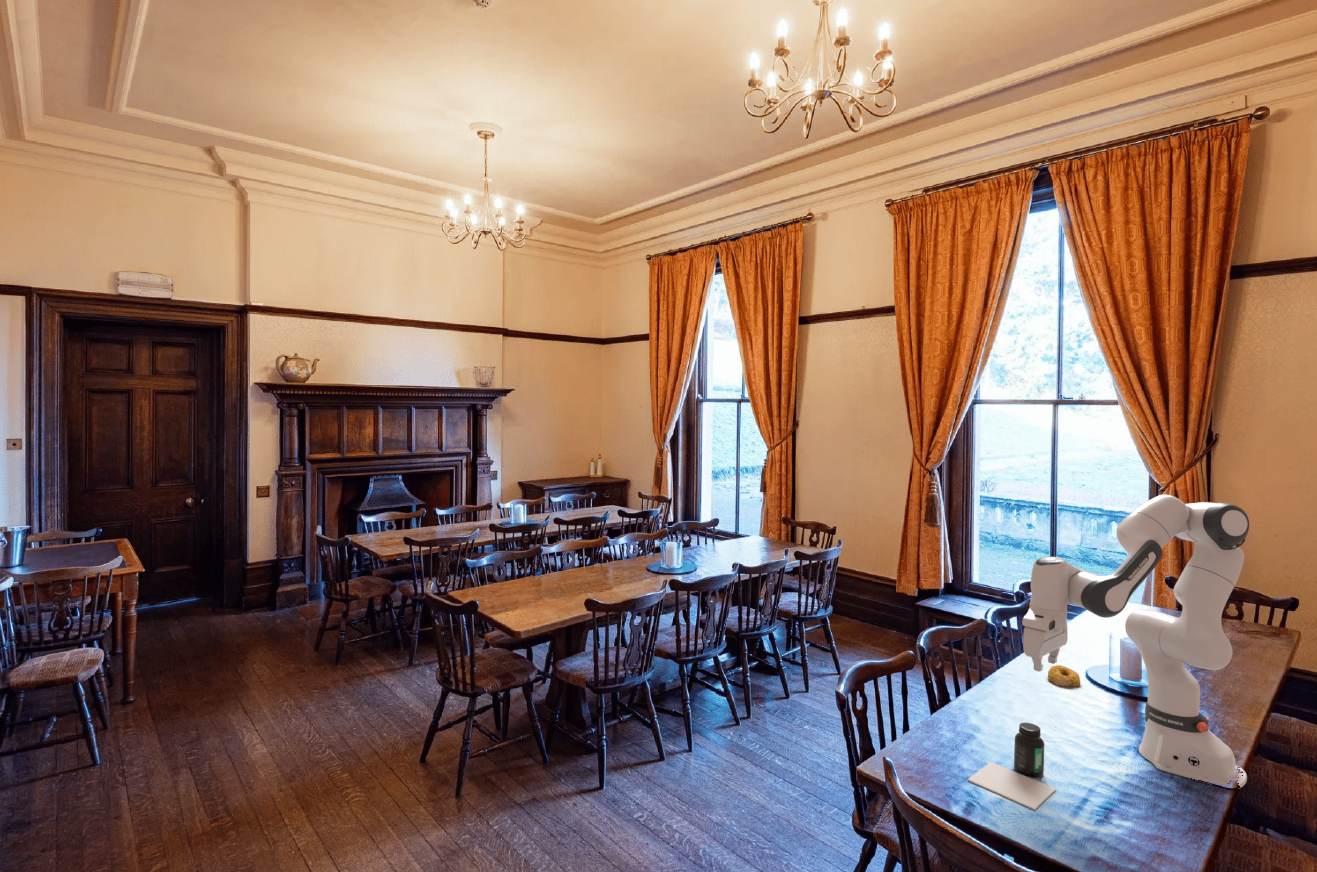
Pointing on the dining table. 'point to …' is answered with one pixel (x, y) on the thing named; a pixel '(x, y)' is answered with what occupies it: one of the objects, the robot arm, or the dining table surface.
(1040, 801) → the mat
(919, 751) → the dining table surface
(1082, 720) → the dining table surface
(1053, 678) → the bagel
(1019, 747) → the supplement bottle
